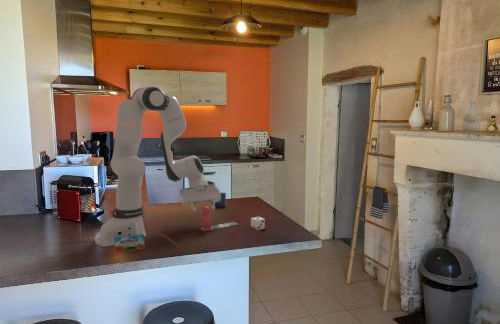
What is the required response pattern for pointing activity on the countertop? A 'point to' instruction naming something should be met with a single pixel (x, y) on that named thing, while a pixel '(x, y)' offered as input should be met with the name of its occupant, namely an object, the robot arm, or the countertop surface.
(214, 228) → the game strip
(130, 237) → the colorful food package
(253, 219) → the die
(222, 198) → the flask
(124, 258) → the countertop surface
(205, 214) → the pawn
